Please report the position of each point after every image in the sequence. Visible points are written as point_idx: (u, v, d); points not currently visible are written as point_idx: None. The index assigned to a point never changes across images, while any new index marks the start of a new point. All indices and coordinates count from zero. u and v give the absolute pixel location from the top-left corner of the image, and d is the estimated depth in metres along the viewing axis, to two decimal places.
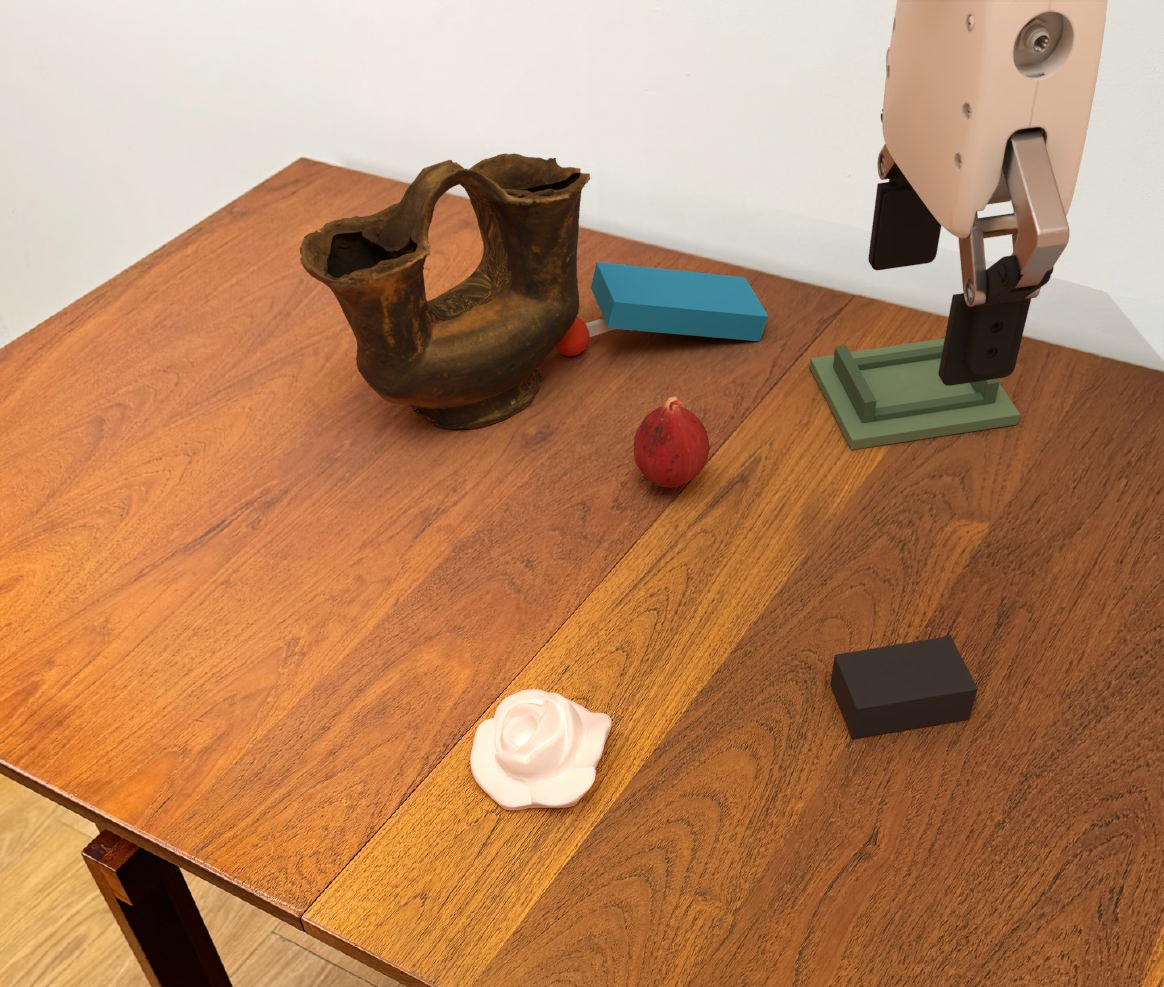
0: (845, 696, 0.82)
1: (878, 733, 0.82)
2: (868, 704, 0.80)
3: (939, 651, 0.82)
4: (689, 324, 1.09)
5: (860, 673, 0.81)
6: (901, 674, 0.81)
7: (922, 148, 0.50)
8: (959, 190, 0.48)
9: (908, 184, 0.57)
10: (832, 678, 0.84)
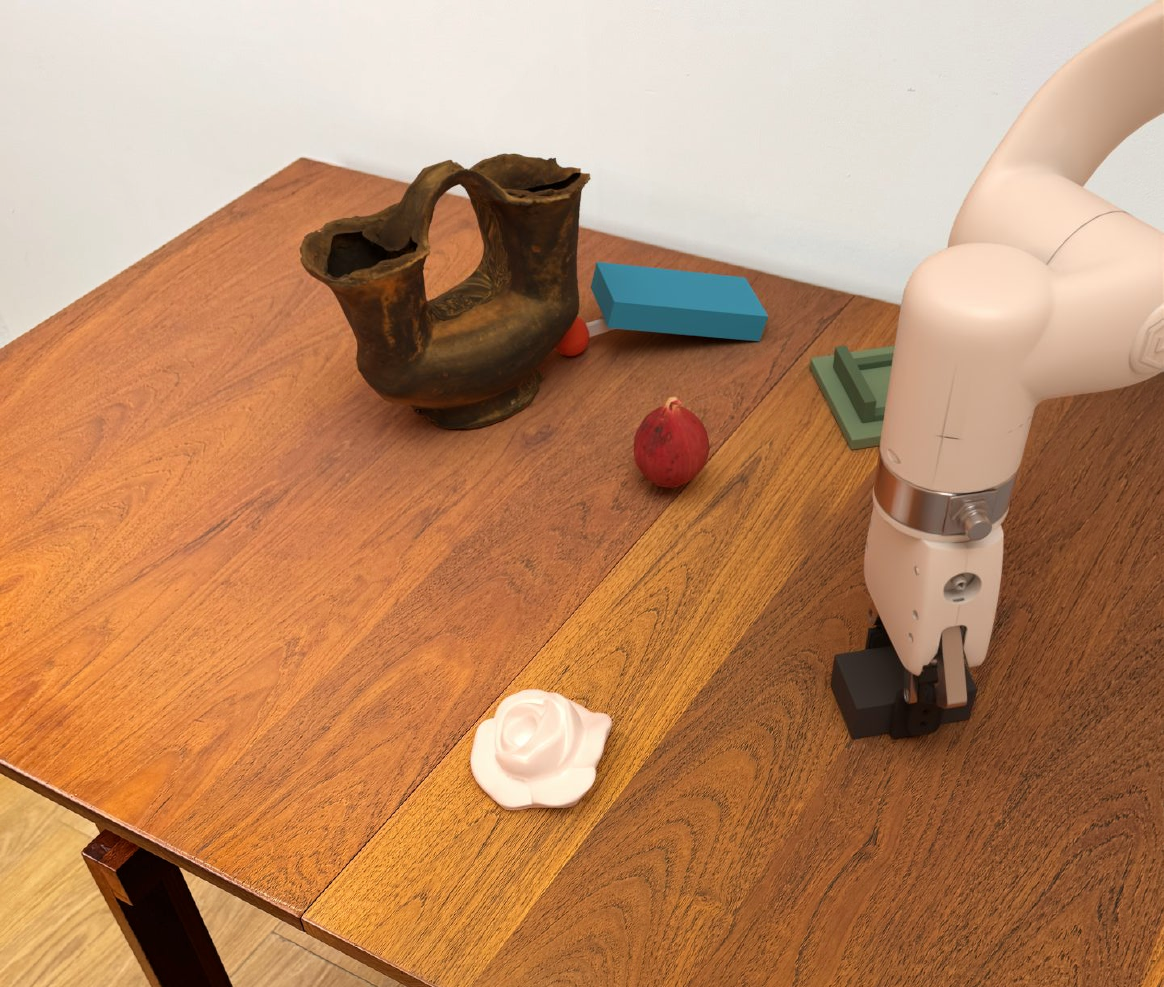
0: (845, 696, 0.82)
1: (878, 733, 0.82)
2: (868, 704, 0.80)
3: None
4: (689, 324, 1.09)
5: (860, 673, 0.81)
6: (901, 674, 0.81)
7: (889, 612, 0.75)
8: (912, 653, 0.73)
9: None
10: (832, 678, 0.84)
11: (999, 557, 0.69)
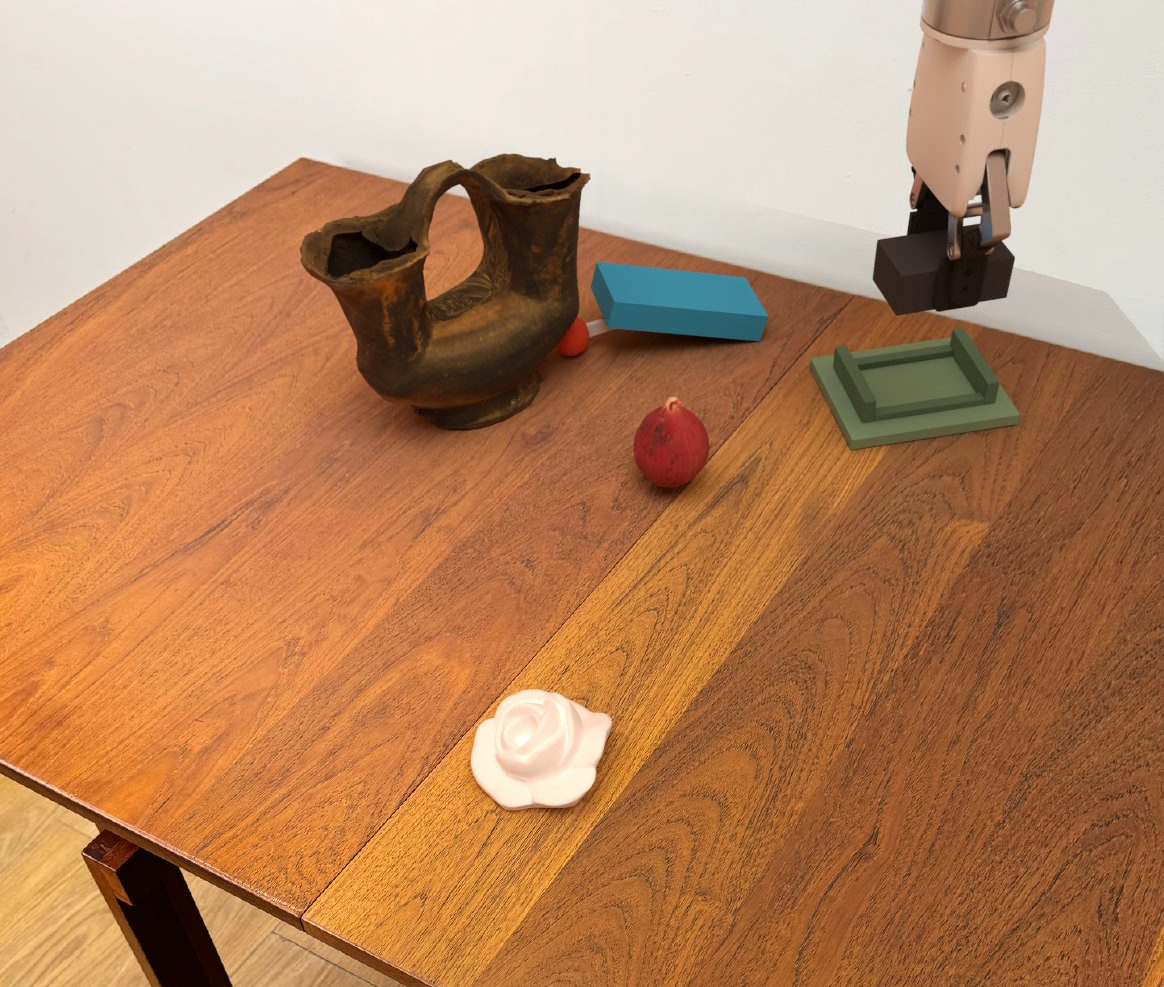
0: (889, 273, 0.86)
1: (921, 310, 0.86)
2: (912, 272, 0.84)
3: None
4: (689, 324, 1.09)
5: (903, 251, 0.86)
6: (941, 250, 0.86)
7: (934, 161, 0.80)
8: (958, 187, 0.78)
9: (930, 212, 0.86)
10: (874, 269, 0.88)
11: (1042, 67, 0.73)
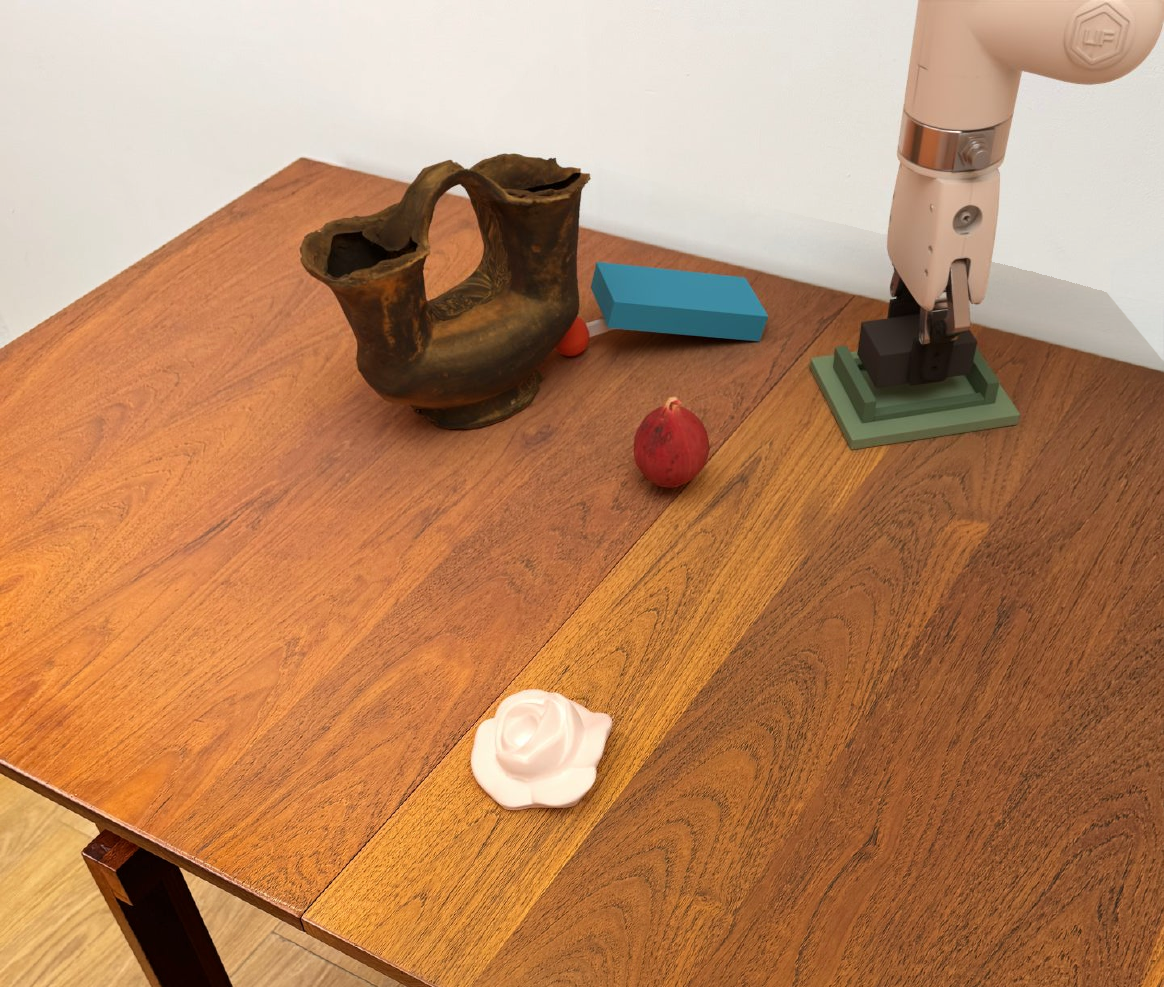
0: (870, 352, 1.01)
1: (896, 383, 1.01)
2: (889, 352, 0.99)
3: None
4: (689, 324, 1.09)
5: (882, 333, 1.01)
6: (915, 333, 1.00)
7: (908, 263, 0.95)
8: (927, 287, 0.92)
9: (907, 300, 1.01)
10: (859, 345, 1.03)
11: (996, 194, 0.88)
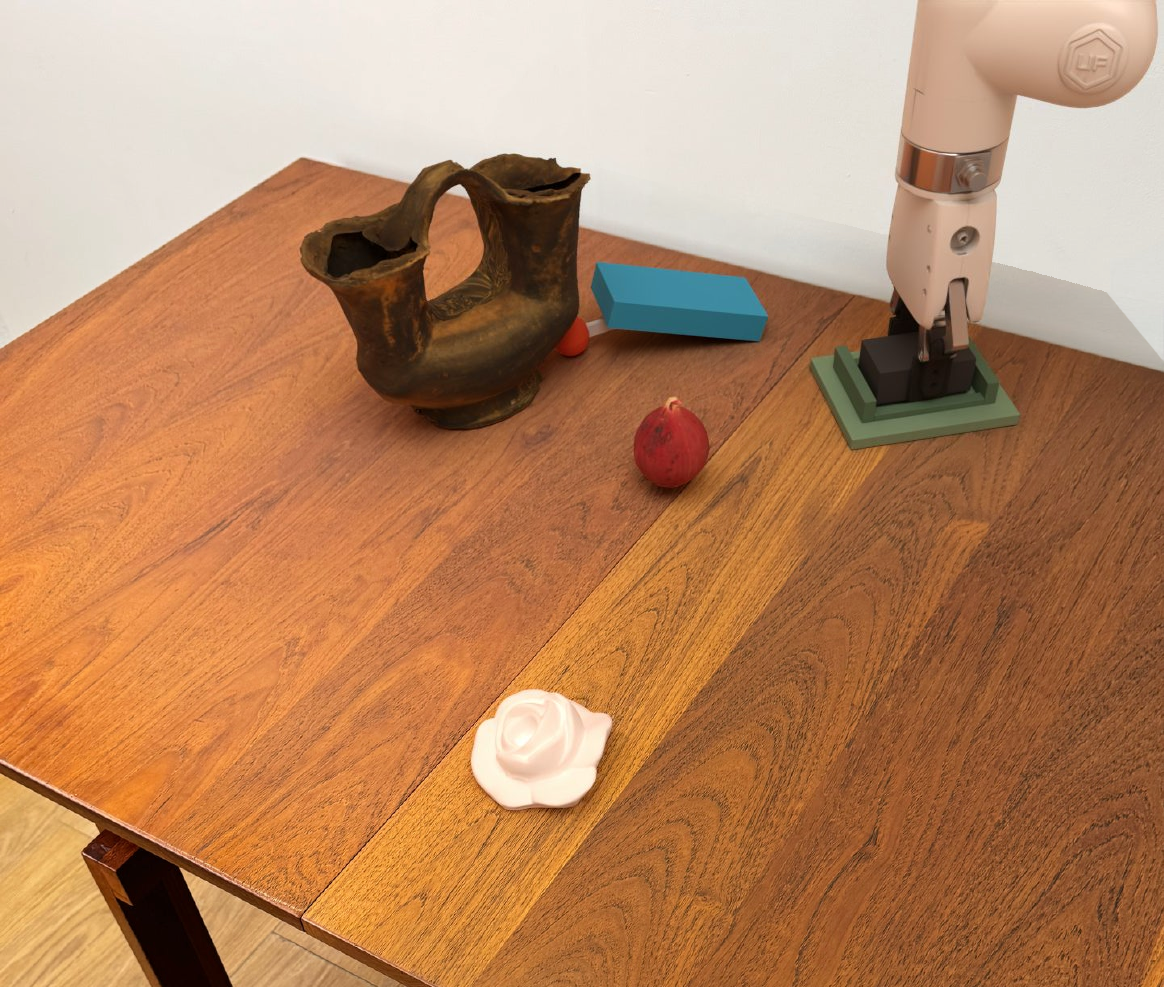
0: (870, 369, 1.02)
1: (897, 400, 1.02)
2: (889, 370, 1.00)
3: None
4: (689, 324, 1.09)
5: (882, 350, 1.02)
6: (915, 350, 1.01)
7: (907, 282, 0.96)
8: (925, 306, 0.94)
9: (906, 318, 1.02)
10: (859, 363, 1.04)
11: (993, 214, 0.89)
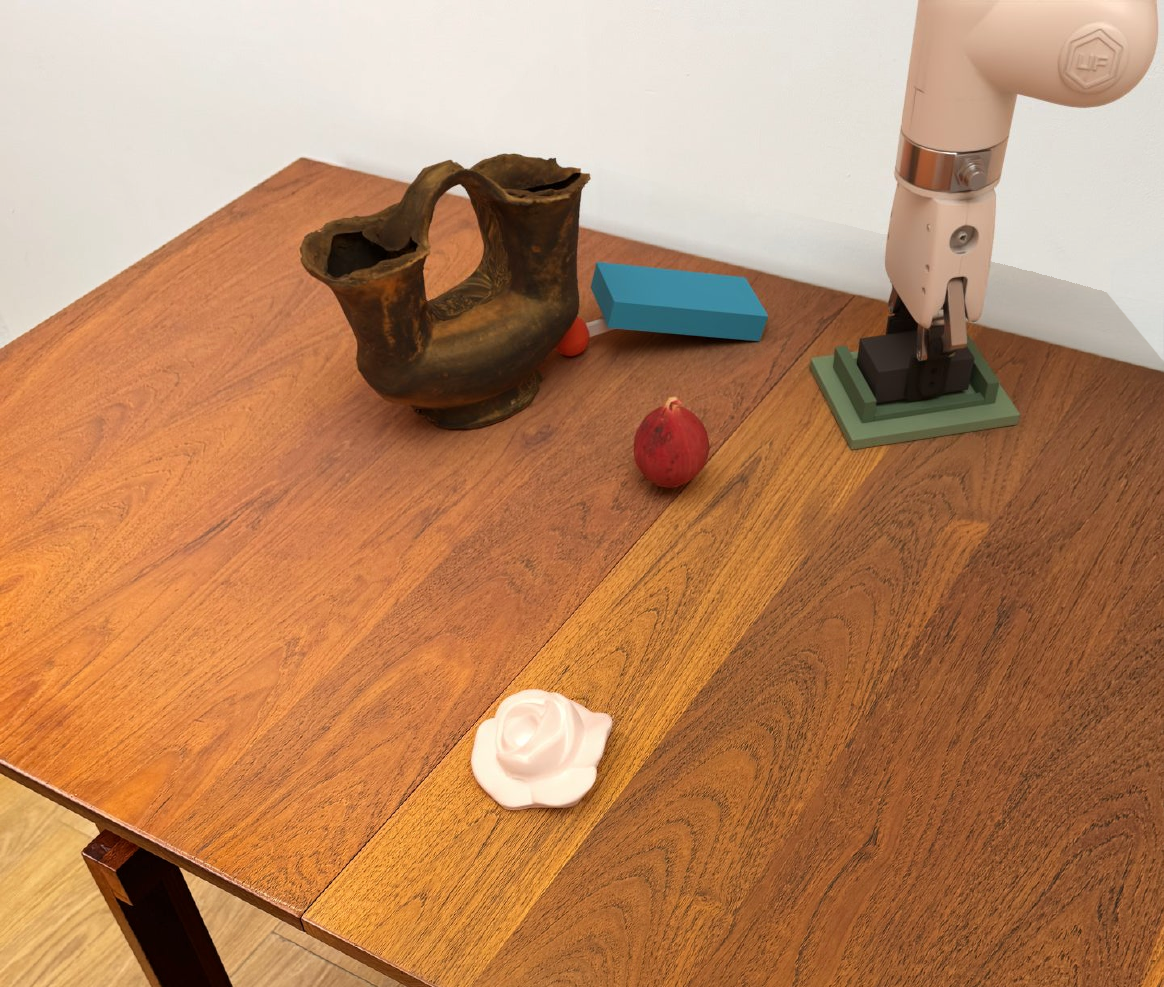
0: (868, 368, 1.02)
1: (895, 399, 1.02)
2: (887, 369, 1.00)
3: None
4: (689, 324, 1.09)
5: (881, 349, 1.02)
6: (913, 349, 1.01)
7: (905, 281, 0.96)
8: (924, 305, 0.94)
9: (905, 317, 1.02)
10: (857, 361, 1.04)
11: (992, 214, 0.89)
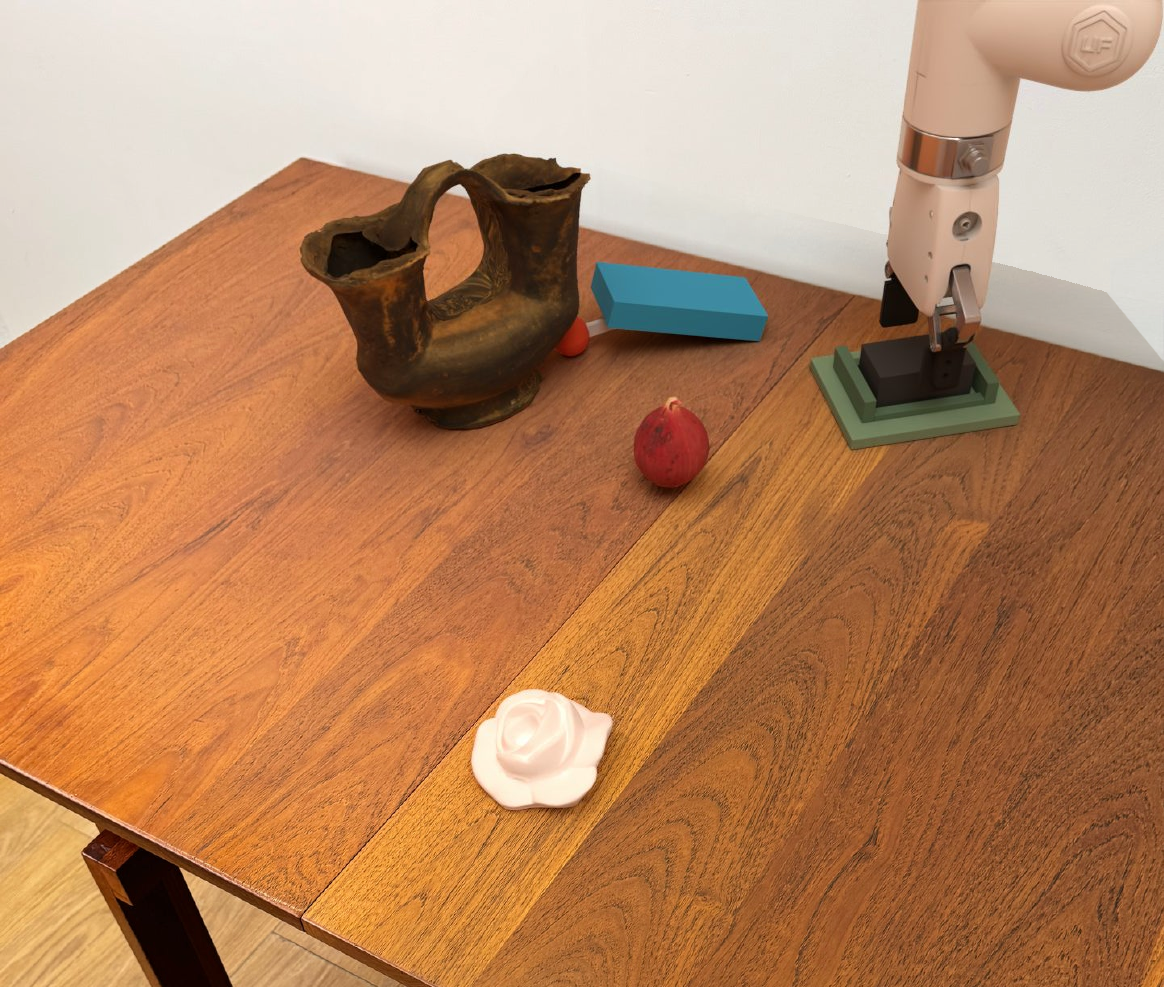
0: (870, 374, 1.02)
1: (897, 404, 1.02)
2: (889, 374, 1.00)
3: None
4: (689, 324, 1.09)
5: (882, 355, 1.02)
6: (915, 355, 1.02)
7: (908, 269, 0.95)
8: (927, 293, 0.93)
9: None
10: (859, 367, 1.05)
11: (995, 200, 0.88)
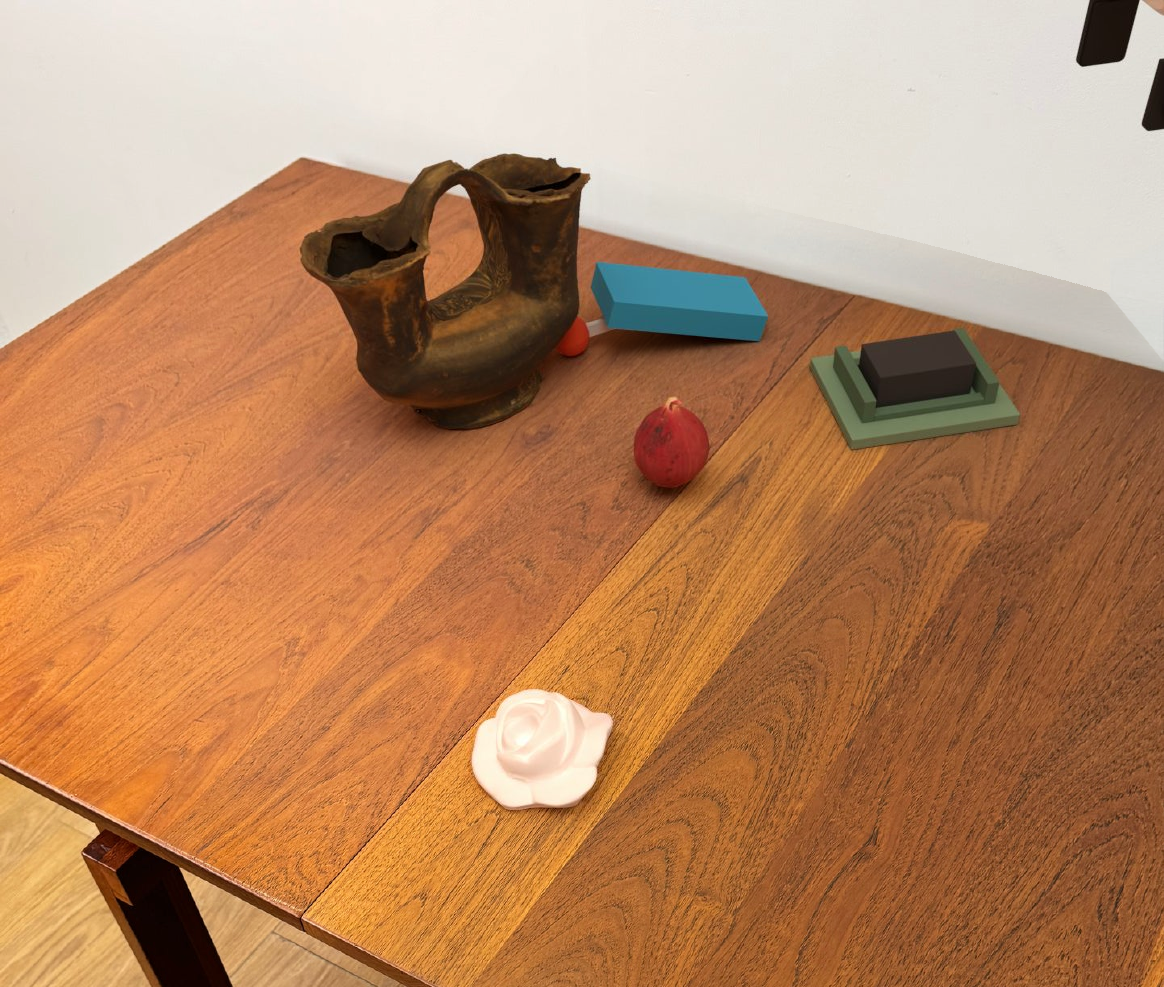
0: (870, 374, 1.02)
1: (897, 404, 1.02)
2: (889, 374, 1.00)
3: (945, 340, 1.03)
4: (689, 324, 1.09)
5: (882, 355, 1.02)
6: (915, 355, 1.02)
7: None
8: None
9: None
10: (859, 367, 1.05)
11: None
